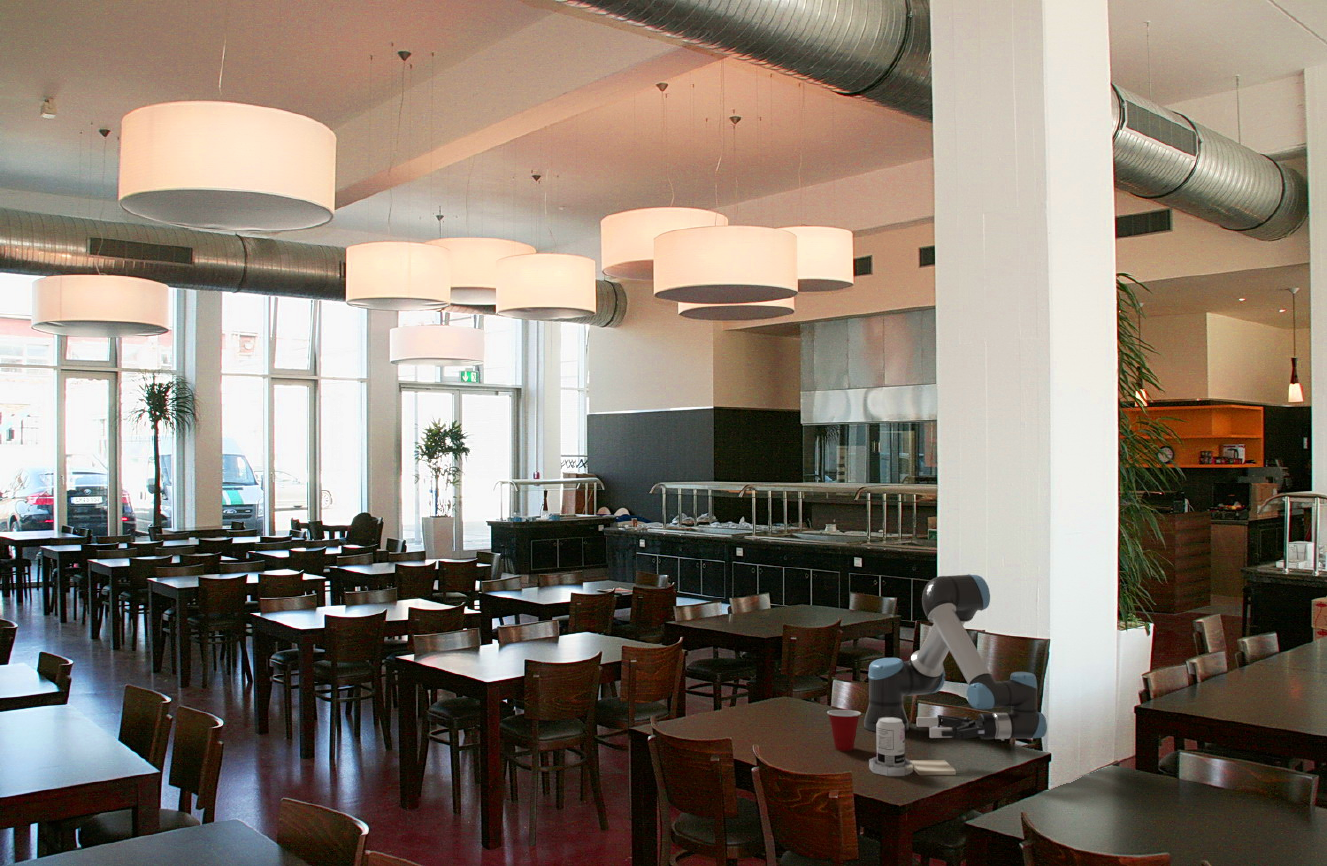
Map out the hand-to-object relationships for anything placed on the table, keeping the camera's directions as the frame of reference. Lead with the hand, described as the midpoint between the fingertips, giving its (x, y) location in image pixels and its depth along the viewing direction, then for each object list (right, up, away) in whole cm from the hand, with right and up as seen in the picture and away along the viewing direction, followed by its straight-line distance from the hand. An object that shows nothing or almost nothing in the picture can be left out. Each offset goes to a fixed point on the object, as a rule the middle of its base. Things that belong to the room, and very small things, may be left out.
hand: (923, 727), depth 313 cm
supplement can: (-10, -13, 0) cm, 16 cm away
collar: (-10, -13, 0) cm, 16 cm away
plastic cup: (-20, -14, +23) cm, 33 cm away
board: (+3, -13, 0) cm, 13 cm away
